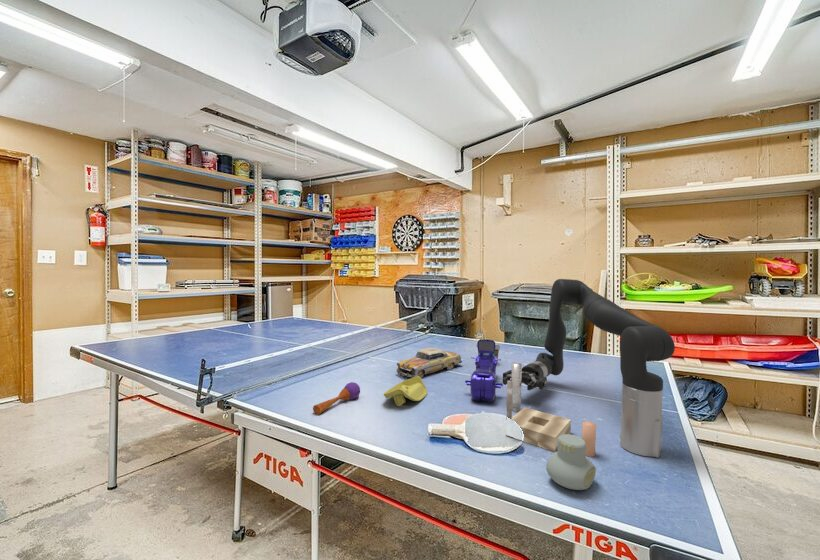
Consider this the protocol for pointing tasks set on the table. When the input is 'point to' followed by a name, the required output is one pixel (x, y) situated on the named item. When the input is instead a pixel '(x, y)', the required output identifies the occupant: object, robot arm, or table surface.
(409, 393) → the plastic component
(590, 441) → the terracotta pin
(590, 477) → the air freshener
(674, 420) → the table surface
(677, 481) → the table surface
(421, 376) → the car
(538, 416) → the socket block
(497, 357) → the food container
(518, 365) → the steel pin
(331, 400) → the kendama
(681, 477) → the table surface
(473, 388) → the motorcycle
